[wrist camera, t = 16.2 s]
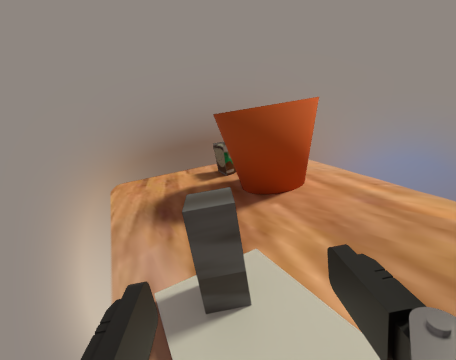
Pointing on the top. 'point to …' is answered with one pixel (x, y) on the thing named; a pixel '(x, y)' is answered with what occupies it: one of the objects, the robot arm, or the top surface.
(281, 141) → the flowerpot
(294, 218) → the top surface
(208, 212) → the charcoal link
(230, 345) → the plate
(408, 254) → the top surface
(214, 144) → the food container
